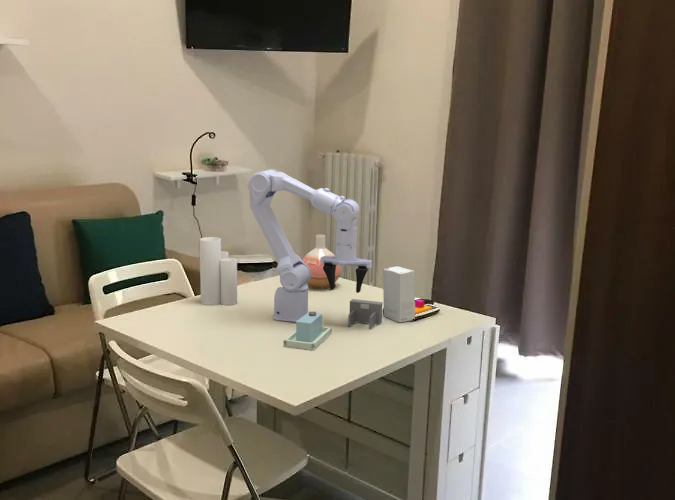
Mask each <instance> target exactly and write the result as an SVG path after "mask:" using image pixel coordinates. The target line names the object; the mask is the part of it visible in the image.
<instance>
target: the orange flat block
mask: <svg viewBox="0 0 675 500" xmlns="http://www.w3.org/2000/svg"><path fill="white" fill-rule="evenodd" d="M428 310H432V311H433V308H432V306H429V305H425V300H422V299H420V298H419V299H416V300H415V315H416V314H419V313H422V312H425V311H428Z"/></svg>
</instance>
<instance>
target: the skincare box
mask: <svg viewBox="0 0 675 500" xmlns="http://www.w3.org/2000/svg"><path fill="white" fill-rule="evenodd" d="M382 270H383V273H382V274H383V275H382V276H383V277H382V278H383V281H382V284H383V288H382V289H383V317H384V318H387V319H390V320H393V321H395V322H398V323H403V322H404V323H405V322H410V321H414V320H415V319H416V318H415V299H416V298H415V295H416V294H415V293H416V292H415V289H416V288H415V287H416V285H415V284H416V283H415V281H416V279H415V278H416V277H415V273H416V271H415V270H413V269H408V268H404V267H401V266H398V265H397V266H396V265H395V266H392V267H391V266H390V267H386V268H383V269H382ZM413 319H414V320H413Z"/></svg>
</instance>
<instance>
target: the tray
mask: <svg viewBox="0 0 675 500" xmlns="http://www.w3.org/2000/svg"><path fill="white" fill-rule="evenodd" d="M332 331H333V328H332V327H329V326H323V325H322V333H321V334H320V335H319V336H318V337H317V338H316V339H315V340H314V341H313V342H312V343H309V342H301V341H296V329H295V330H294V331H293V332H292V333H290V334H289V335H288V336H287V337H285V339H283V347H285V348H292V349H293V348H294V349H299V350H300V349H301V350H309V351H315V350H316V349H317V348H319V346H320V345H321V344H322V343H324V342H325V340H326V339H328V338H329V337H330V336H331V335H332V334H333V332H332Z"/></svg>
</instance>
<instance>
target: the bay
mask: <svg viewBox="0 0 675 500" xmlns="http://www.w3.org/2000/svg"><path fill="white" fill-rule="evenodd" d="M347 316H348V318H347V320H348V323H347V327H349V328H350V327H352V326H353V325H354V323H361V324H362V323H363V324H368V330H372V329H373V328H374V327H375V326H376V325H382V324H381V323H382V322H383V301H374V300H365V299H355V298H352V299H351V300H350V301H349V314H348V315H347Z"/></svg>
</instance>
